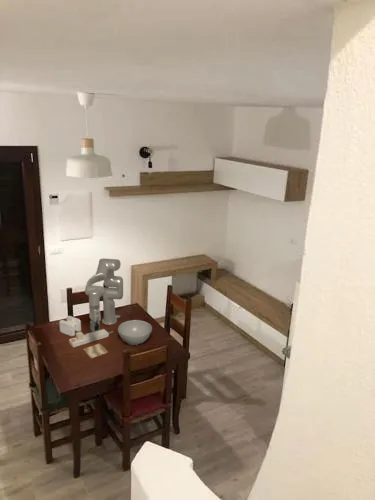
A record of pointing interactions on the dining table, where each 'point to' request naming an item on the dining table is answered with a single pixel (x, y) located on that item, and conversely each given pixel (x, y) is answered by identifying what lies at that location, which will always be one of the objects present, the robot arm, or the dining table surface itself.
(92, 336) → the power strip
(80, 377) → the dining table surface
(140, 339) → the decorative bowl
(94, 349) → the beige square cloth
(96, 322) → the charger
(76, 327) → the cable organizer
